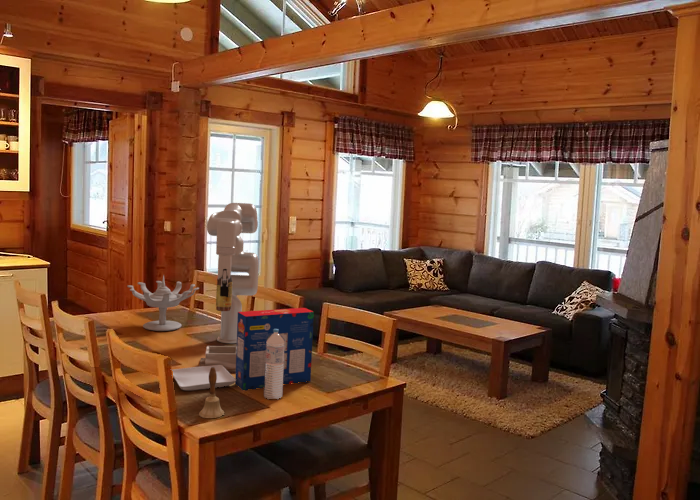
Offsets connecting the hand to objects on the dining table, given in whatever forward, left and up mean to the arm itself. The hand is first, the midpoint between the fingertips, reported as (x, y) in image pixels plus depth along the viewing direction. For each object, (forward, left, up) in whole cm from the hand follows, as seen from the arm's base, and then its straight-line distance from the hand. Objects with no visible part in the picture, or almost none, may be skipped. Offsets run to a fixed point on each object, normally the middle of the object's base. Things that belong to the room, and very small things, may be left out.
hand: (224, 294), depth 260 cm
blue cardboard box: (+21, +20, -31) cm, 42 cm away
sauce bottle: (0, 0, -7) cm, 7 cm away
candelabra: (-66, -31, -31) cm, 79 cm away
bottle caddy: (0, 0, -30) cm, 30 cm away
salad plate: (+20, -7, -31) cm, 38 cm away
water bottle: (+37, +19, -31) cm, 52 cm away
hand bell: (+53, -2, -31) cm, 61 cm away
